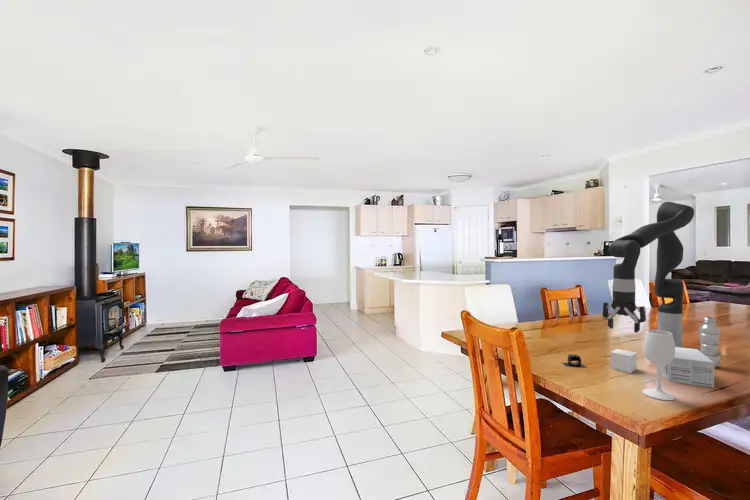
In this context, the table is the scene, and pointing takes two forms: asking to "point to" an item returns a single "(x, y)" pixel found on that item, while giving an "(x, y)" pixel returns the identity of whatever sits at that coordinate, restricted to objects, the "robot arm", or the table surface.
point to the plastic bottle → (710, 339)
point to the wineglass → (659, 358)
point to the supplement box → (690, 368)
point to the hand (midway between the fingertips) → (623, 330)
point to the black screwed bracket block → (574, 358)
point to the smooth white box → (623, 360)
